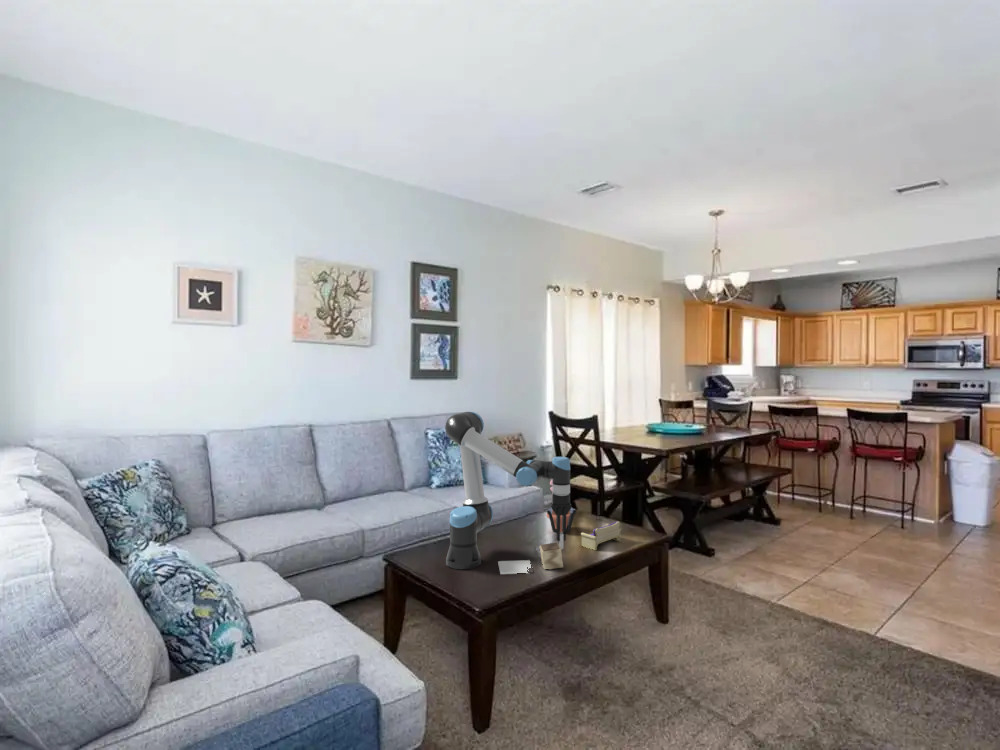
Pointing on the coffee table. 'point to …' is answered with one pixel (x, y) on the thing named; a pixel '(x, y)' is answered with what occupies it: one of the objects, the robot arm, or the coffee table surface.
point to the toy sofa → (601, 535)
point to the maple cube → (551, 556)
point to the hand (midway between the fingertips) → (561, 548)
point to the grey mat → (514, 566)
